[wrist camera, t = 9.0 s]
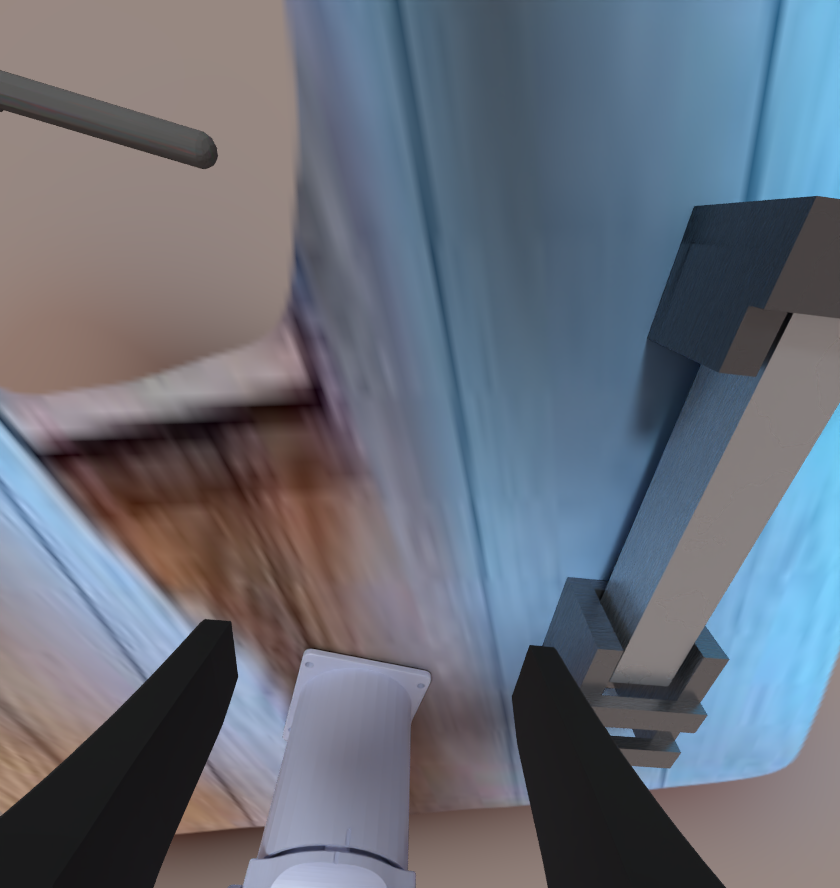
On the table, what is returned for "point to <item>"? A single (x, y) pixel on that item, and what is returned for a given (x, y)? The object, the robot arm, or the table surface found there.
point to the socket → (749, 279)
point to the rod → (717, 494)
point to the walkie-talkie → (106, 121)
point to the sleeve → (637, 706)
